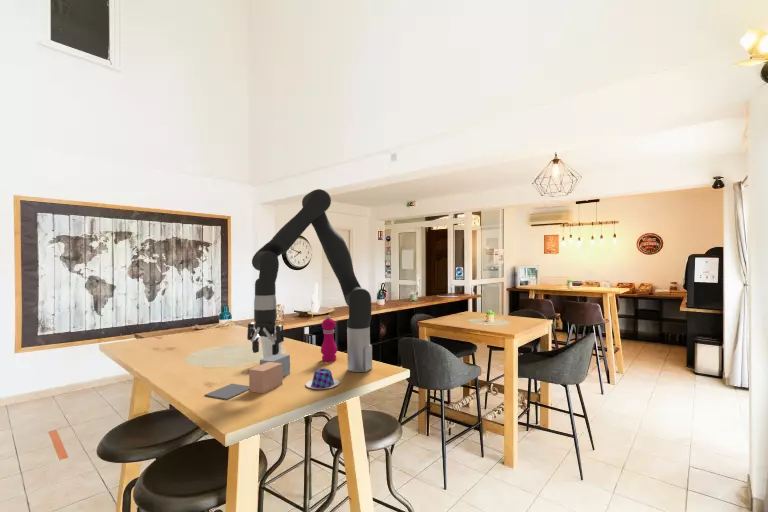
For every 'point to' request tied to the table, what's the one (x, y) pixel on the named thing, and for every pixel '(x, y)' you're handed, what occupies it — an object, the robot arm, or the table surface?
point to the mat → (228, 391)
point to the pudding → (322, 380)
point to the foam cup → (268, 346)
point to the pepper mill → (328, 340)
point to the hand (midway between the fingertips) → (265, 353)
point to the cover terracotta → (265, 377)
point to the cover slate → (279, 359)
